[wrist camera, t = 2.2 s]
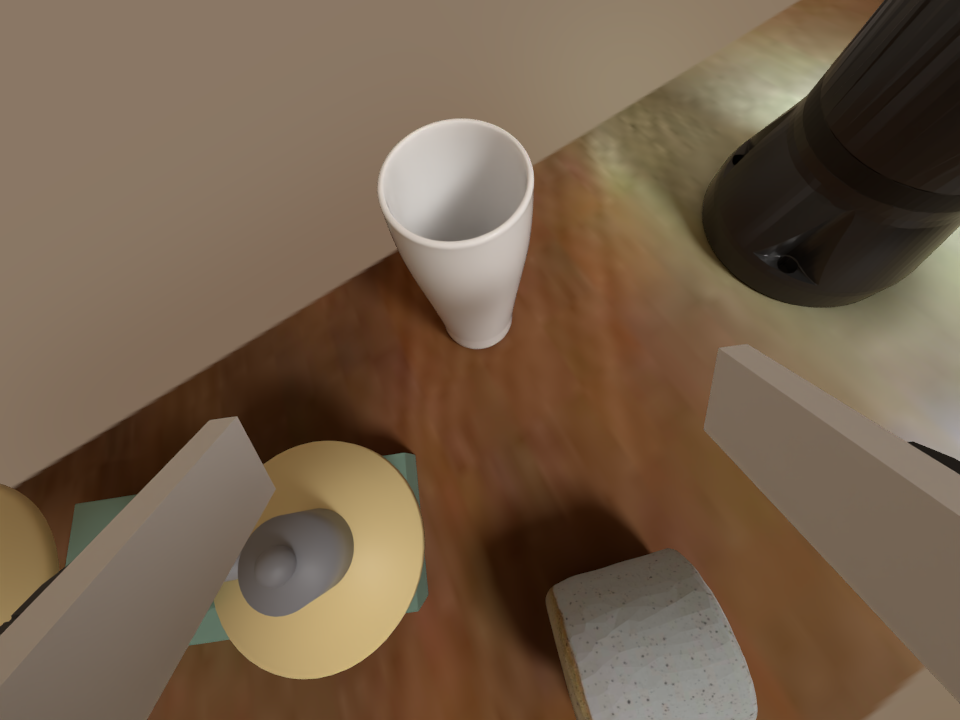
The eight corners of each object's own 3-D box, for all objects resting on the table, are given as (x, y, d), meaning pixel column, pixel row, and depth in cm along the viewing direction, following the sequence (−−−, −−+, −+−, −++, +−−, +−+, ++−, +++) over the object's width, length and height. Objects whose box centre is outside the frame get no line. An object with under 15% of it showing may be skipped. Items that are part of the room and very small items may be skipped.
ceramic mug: (533, 571, 25) (546, 618, 17) (652, 535, 25) (716, 566, 17) (591, 769, 22) (637, 927, 14) (725, 727, 22) (839, 861, 14)
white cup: (459, 270, 31) (421, 97, 17) (534, 299, 30) (562, 141, 16) (421, 339, 30) (343, 214, 15) (499, 374, 28) (493, 273, 14)
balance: (434, 437, 27) (381, 412, 16) (452, 609, 24) (404, 736, 13) (102, 489, 28) (-188, 502, 16) (77, 664, 25) (-307, 838, 13)
